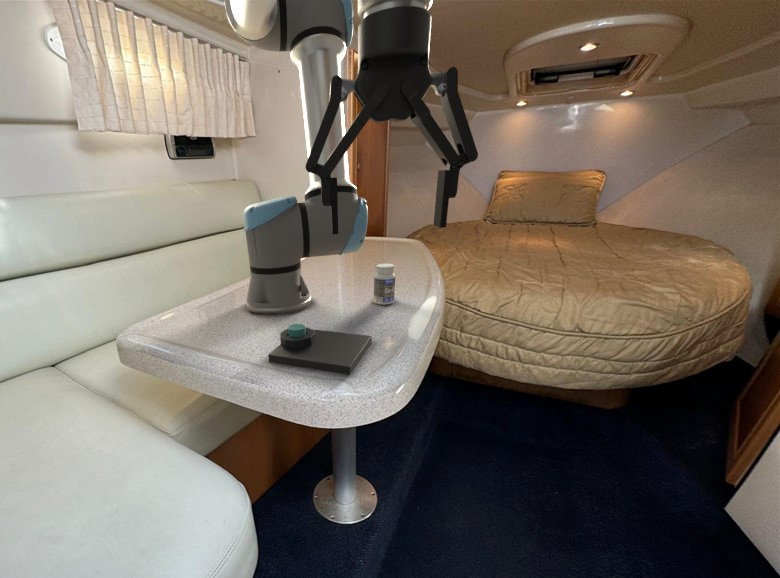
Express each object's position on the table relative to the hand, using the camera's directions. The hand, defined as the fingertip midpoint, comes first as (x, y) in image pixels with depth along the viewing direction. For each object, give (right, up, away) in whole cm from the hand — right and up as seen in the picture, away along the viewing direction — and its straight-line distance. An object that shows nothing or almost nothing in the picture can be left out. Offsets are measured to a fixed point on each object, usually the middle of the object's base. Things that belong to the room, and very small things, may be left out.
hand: (386, 229), depth 47 cm
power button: (-12, -13, +15) cm, 23 cm away
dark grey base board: (-8, -16, +15) cm, 23 cm away
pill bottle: (+7, -4, +37) cm, 38 cm away
